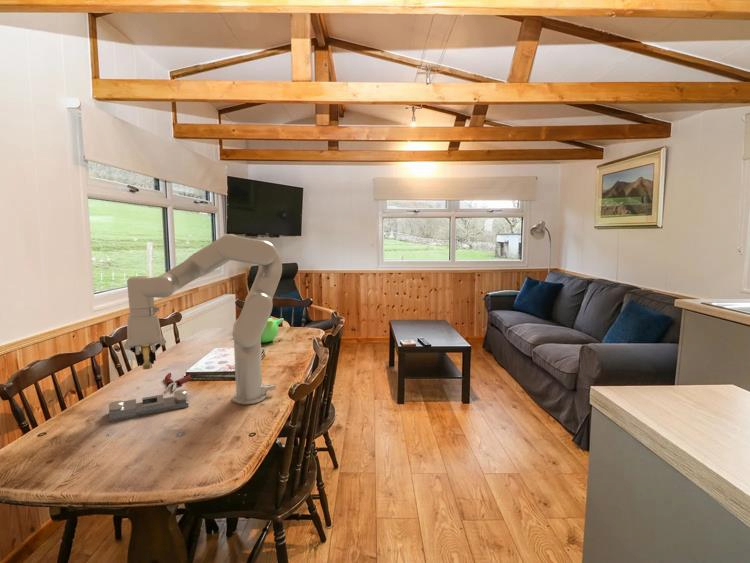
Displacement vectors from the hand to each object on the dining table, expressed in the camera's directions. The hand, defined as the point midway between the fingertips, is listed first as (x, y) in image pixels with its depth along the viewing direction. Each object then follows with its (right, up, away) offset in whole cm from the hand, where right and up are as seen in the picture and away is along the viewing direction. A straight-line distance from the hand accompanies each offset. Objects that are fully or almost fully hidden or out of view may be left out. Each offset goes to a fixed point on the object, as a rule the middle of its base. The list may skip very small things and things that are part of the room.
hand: (146, 363), depth 145 cm
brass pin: (0, -2, 0) cm, 2 cm away
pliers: (-4, -14, +27) cm, 31 cm away
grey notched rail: (0, -17, +2) cm, 17 cm away
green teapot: (+18, -6, +89) cm, 91 cm away
